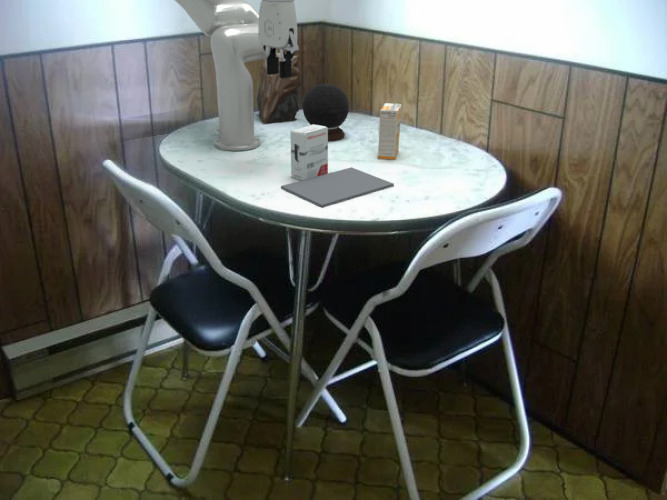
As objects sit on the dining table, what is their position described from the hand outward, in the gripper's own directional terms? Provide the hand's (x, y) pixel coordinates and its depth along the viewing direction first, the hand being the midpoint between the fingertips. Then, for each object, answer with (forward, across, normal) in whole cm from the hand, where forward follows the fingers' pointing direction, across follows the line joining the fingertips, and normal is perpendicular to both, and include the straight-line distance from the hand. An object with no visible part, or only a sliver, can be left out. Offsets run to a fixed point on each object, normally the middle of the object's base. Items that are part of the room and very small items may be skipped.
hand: (279, 75), depth 169 cm
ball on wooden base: (+23, -12, +25) cm, 36 cm away
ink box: (+23, +12, 0) cm, 25 cm away
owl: (+23, -36, +24) cm, 49 cm away
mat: (+22, +22, 0) cm, 32 cm away
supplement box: (+23, +12, +27) cm, 37 cm away
